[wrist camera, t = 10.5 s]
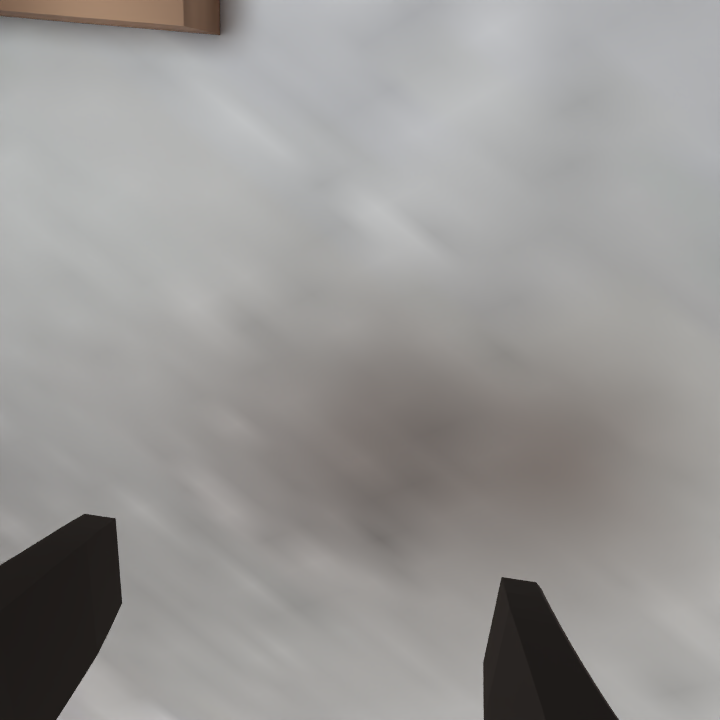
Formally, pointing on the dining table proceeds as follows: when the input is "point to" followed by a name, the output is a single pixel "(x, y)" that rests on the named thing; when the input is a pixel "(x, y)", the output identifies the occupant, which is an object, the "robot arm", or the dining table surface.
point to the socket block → (123, 13)
